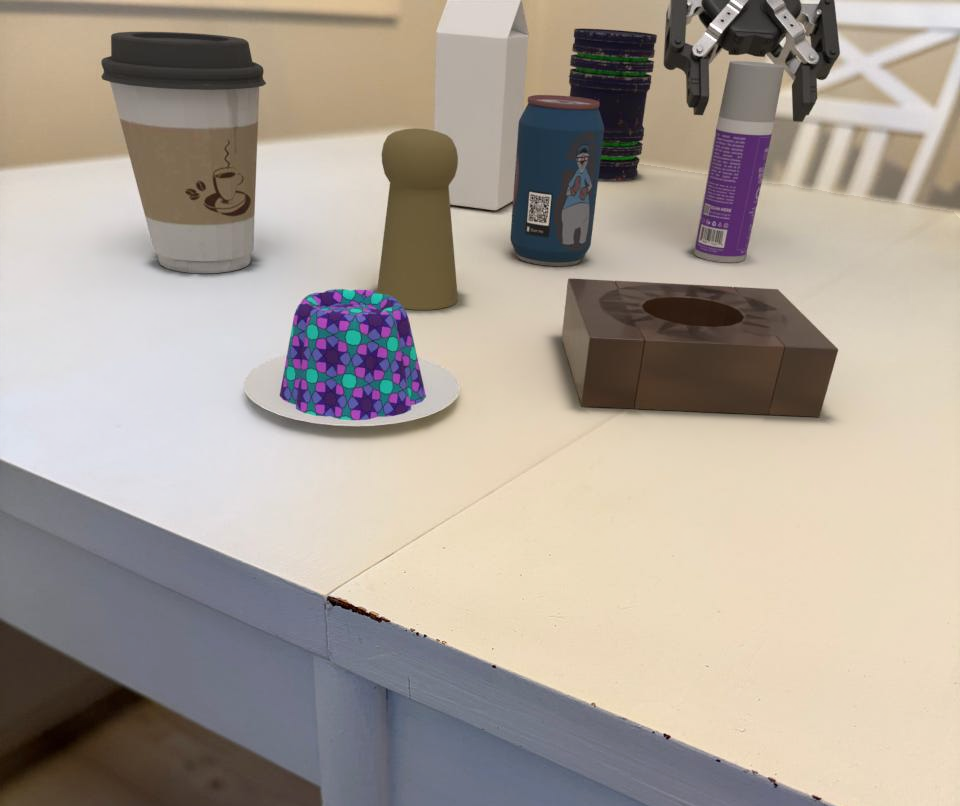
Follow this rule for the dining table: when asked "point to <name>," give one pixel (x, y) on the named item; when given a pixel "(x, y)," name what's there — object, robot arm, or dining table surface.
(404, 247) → the cork
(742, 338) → the socket board
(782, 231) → the dining table surface
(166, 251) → the coffee cup
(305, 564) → the dining table surface
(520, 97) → the milk carton
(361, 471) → the dining table surface
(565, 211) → the soda can
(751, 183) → the container
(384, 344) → the pudding
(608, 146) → the black striped cylinder
